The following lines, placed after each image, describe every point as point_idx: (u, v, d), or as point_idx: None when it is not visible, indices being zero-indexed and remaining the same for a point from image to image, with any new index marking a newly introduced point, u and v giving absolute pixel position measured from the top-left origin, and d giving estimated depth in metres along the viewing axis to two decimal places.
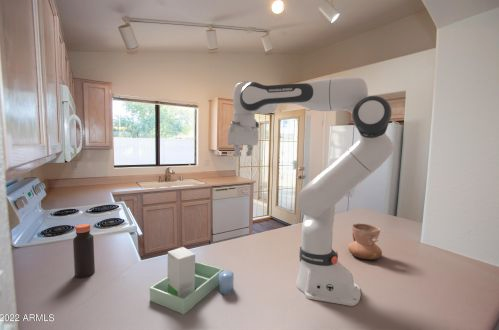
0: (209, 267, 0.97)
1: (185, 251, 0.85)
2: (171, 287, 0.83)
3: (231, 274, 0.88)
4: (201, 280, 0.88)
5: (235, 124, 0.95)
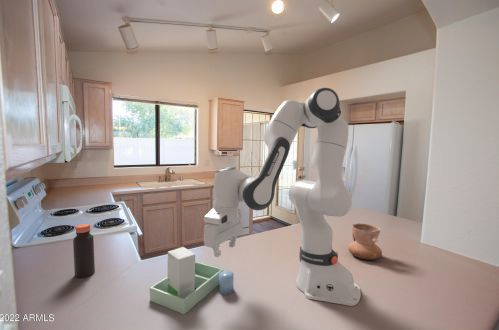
0: (209, 267, 0.97)
1: (185, 251, 0.85)
2: (171, 287, 0.83)
3: (231, 274, 0.88)
4: (201, 280, 0.88)
5: None
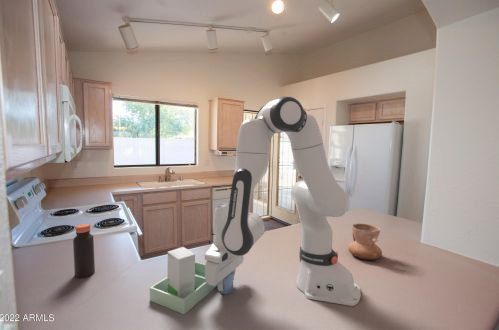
0: None
1: (185, 251, 0.85)
2: (171, 287, 0.83)
3: (231, 274, 0.88)
4: (201, 280, 0.88)
5: None
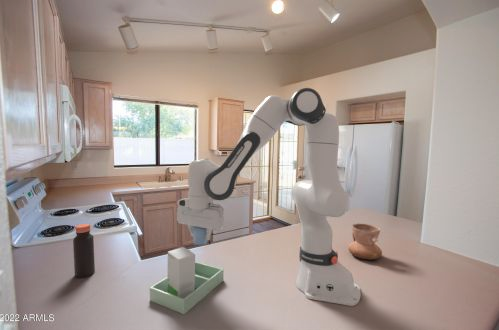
0: (209, 267, 0.97)
1: (185, 251, 0.85)
2: (171, 287, 0.83)
3: (198, 228, 0.91)
4: (201, 280, 0.88)
5: None
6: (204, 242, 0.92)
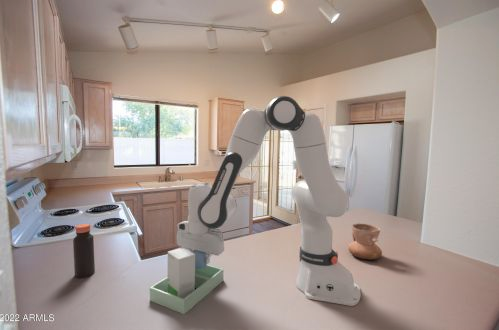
0: (209, 267, 0.97)
1: (185, 251, 0.85)
2: (171, 287, 0.83)
3: (198, 252, 0.92)
4: (201, 280, 0.88)
5: None
6: (203, 266, 0.92)
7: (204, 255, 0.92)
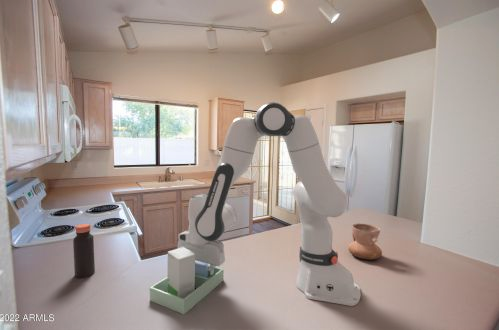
0: (209, 267, 0.97)
1: (185, 251, 0.85)
2: (171, 287, 0.83)
3: (199, 267, 0.92)
4: (201, 280, 0.88)
5: None
6: None
7: (205, 269, 0.93)
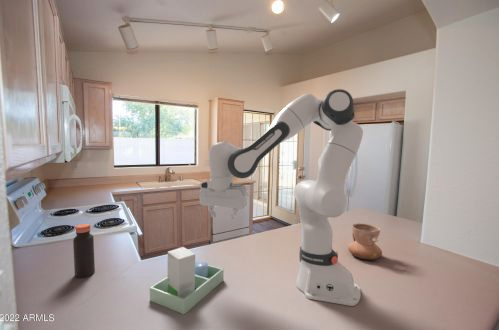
0: (209, 267, 0.97)
1: (185, 251, 0.85)
2: (171, 287, 0.83)
3: (199, 267, 0.92)
4: (201, 280, 0.88)
5: None
6: None
7: (205, 269, 0.93)
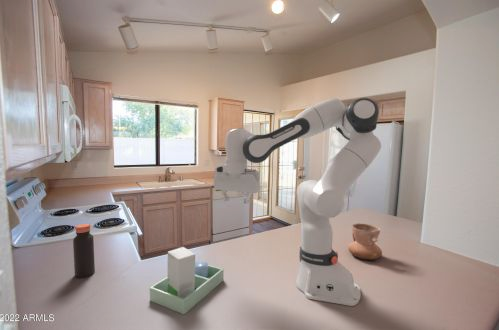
0: (209, 267, 0.97)
1: (185, 251, 0.85)
2: (171, 287, 0.83)
3: (199, 267, 0.92)
4: (201, 280, 0.88)
5: None
6: None
7: (205, 269, 0.93)
